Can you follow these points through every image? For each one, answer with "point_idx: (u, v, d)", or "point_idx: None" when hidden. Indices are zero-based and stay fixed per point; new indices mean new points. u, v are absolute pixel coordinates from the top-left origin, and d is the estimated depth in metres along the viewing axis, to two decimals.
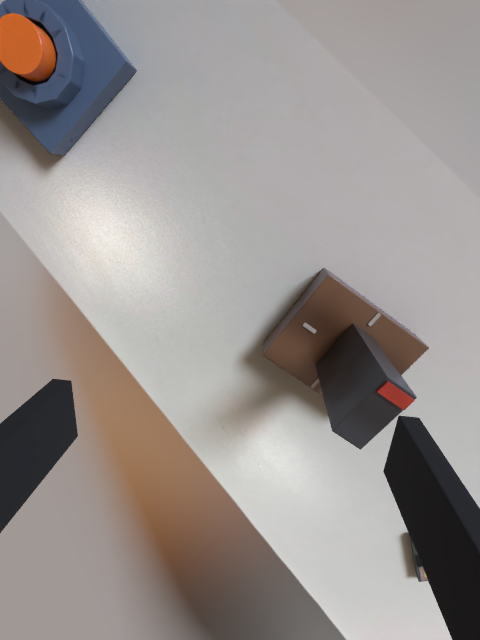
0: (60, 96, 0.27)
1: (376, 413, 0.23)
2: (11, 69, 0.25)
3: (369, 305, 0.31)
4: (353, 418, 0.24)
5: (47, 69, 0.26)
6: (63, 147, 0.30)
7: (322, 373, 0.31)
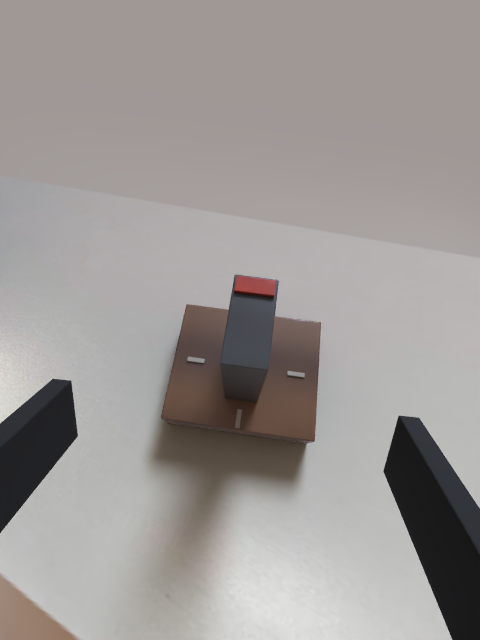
0: None
1: (252, 316, 0.19)
2: None
3: None
4: (232, 334, 0.19)
5: None
6: None
7: None
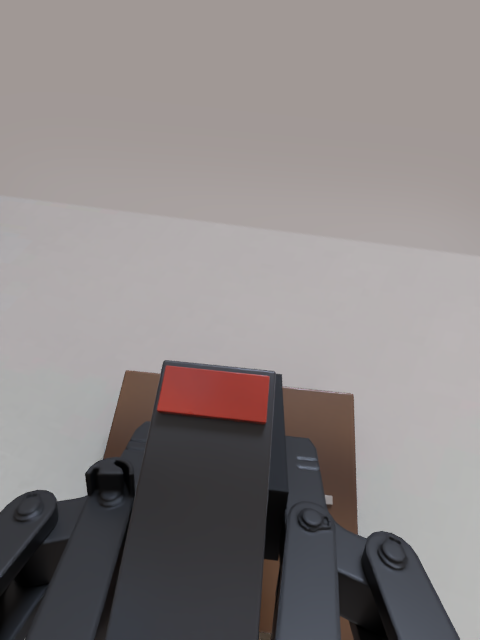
0: None
1: (204, 488, 0.07)
2: None
3: None
4: (143, 557, 0.06)
5: None
6: None
7: None
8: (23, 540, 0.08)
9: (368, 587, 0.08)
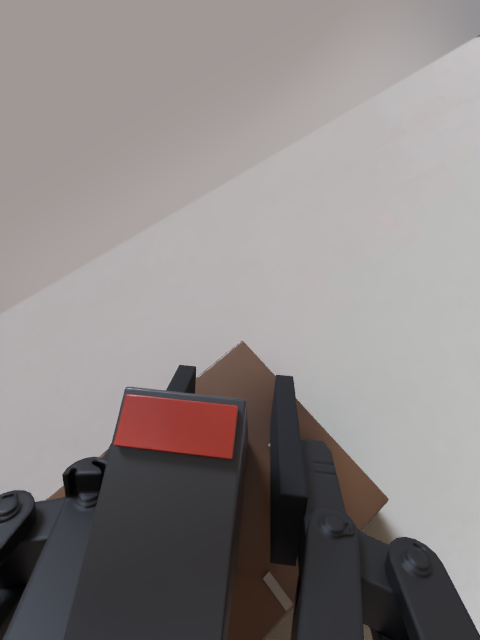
0: None
1: (163, 533, 0.06)
2: None
3: None
4: (93, 611, 0.06)
5: None
6: None
7: None
8: (0, 540, 0.08)
9: (393, 594, 0.08)
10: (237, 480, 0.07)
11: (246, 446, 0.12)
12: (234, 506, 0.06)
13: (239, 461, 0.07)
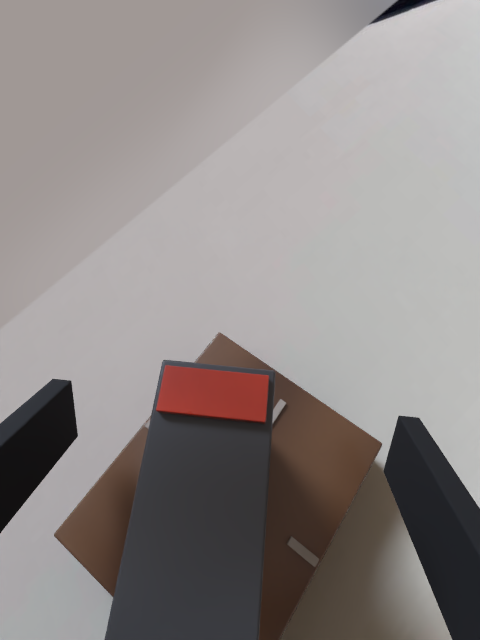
0: None
1: (204, 488, 0.07)
2: None
3: (130, 443, 0.17)
4: (142, 557, 0.06)
5: None
6: None
7: None
8: None
9: None
10: (270, 442, 0.07)
11: None
12: (268, 465, 0.07)
13: (271, 425, 0.07)
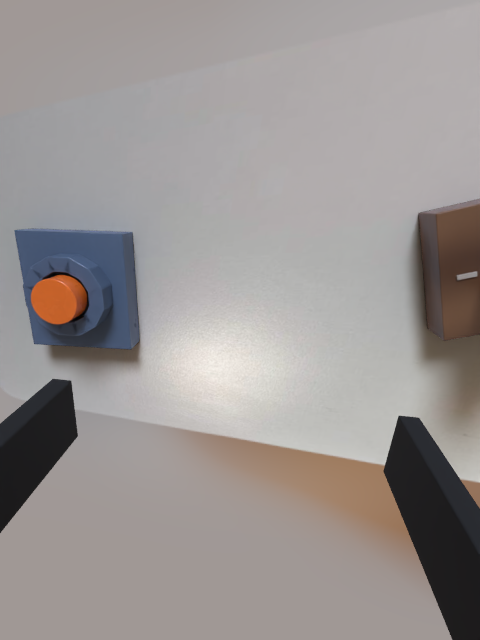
0: (105, 305, 0.28)
1: None
2: (64, 321, 0.27)
3: None
4: None
5: (82, 297, 0.27)
6: (135, 336, 0.31)
7: None
8: None
9: None
10: None
11: None
12: None
13: None
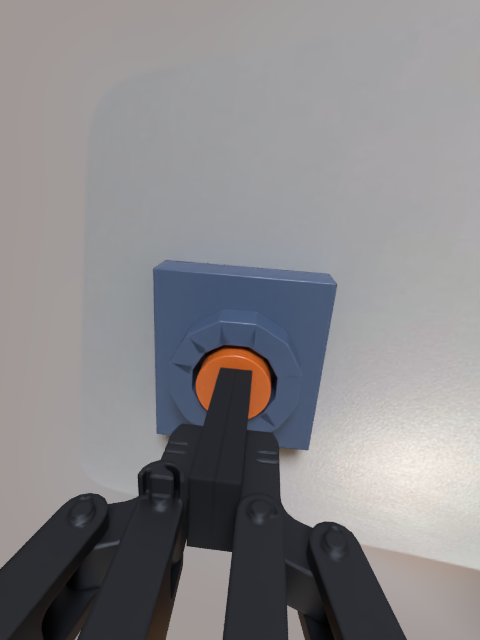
0: None
1: None
2: None
3: None
4: None
5: None
6: None
7: None
8: (76, 545, 0.08)
9: (310, 576, 0.08)
10: None
11: None
12: None
13: None
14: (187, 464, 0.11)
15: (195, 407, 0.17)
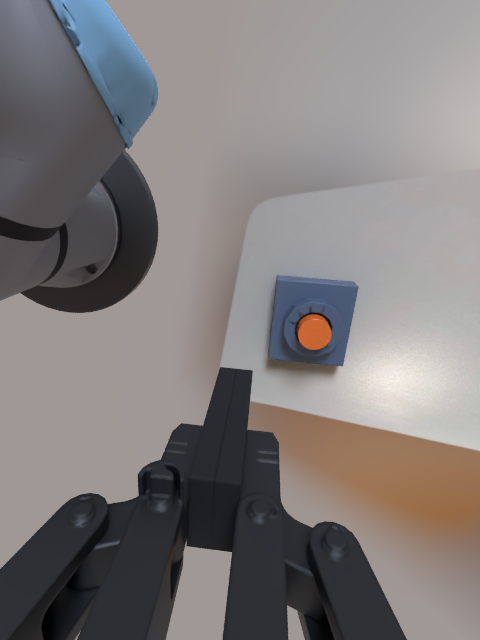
0: None
1: None
2: (318, 348, 0.38)
3: None
4: None
5: None
6: None
7: None
8: (76, 545, 0.08)
9: (310, 575, 0.08)
10: None
11: None
12: None
13: None
14: (187, 463, 0.11)
15: (294, 341, 0.39)
